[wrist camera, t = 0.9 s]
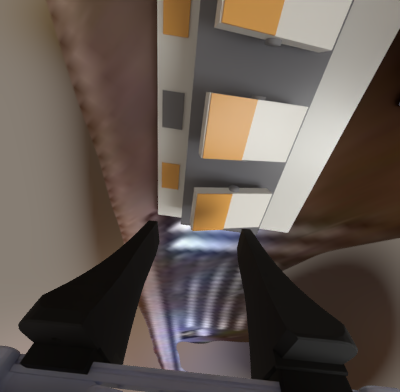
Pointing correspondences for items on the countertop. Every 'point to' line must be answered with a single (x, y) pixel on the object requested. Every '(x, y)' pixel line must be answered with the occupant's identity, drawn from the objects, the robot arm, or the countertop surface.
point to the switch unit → (260, 86)
